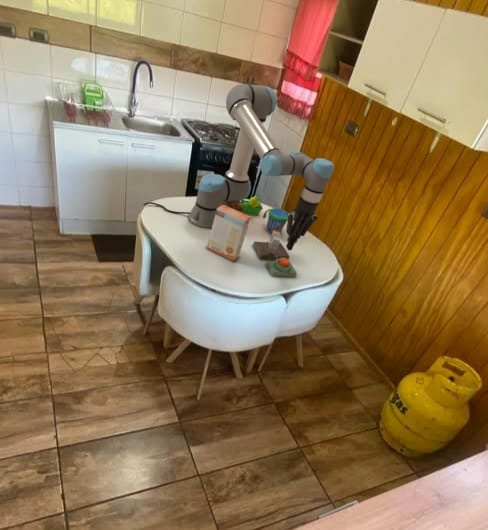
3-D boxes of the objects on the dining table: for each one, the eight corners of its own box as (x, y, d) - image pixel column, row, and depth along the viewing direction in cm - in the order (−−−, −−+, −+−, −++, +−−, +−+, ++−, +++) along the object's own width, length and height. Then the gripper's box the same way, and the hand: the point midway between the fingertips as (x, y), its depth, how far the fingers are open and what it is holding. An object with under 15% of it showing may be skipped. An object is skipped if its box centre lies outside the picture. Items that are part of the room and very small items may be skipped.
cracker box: (239, 256, 170) (251, 216, 158) (232, 262, 166) (245, 221, 154) (213, 243, 176) (223, 203, 163) (206, 248, 171) (216, 207, 159)
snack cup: (255, 224, 198) (261, 207, 192) (268, 220, 204) (274, 204, 198) (278, 240, 189) (285, 222, 184) (291, 235, 196) (297, 218, 190)
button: (280, 267, 163) (281, 263, 162) (276, 261, 166) (278, 257, 165) (289, 267, 164) (291, 263, 163) (285, 261, 167) (287, 257, 166)
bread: (209, 201, 210) (213, 185, 205) (226, 201, 214) (231, 185, 209) (222, 218, 197) (227, 201, 191) (240, 218, 201) (245, 201, 195)
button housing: (272, 276, 163) (275, 268, 160) (266, 264, 169) (268, 257, 167) (295, 276, 165) (298, 269, 163) (288, 265, 172) (291, 258, 169)
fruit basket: (257, 210, 213) (263, 192, 206) (260, 218, 206) (267, 199, 199) (238, 207, 211) (243, 189, 204) (240, 215, 204) (246, 196, 197)
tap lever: (274, 254, 173) (280, 240, 168) (268, 252, 173) (273, 238, 168) (274, 244, 180) (279, 230, 175) (268, 243, 180) (273, 229, 176)
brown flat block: (260, 260, 171) (262, 256, 169) (251, 244, 181) (253, 239, 180) (288, 262, 174) (290, 257, 173) (278, 245, 185) (280, 241, 183)
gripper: (320, 196, 151) (298, 244, 165) (290, 193, 148) (271, 242, 162) (328, 205, 146) (305, 254, 159) (298, 202, 142) (277, 252, 156)
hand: (288, 248), depth 161 cm, fingers closed
